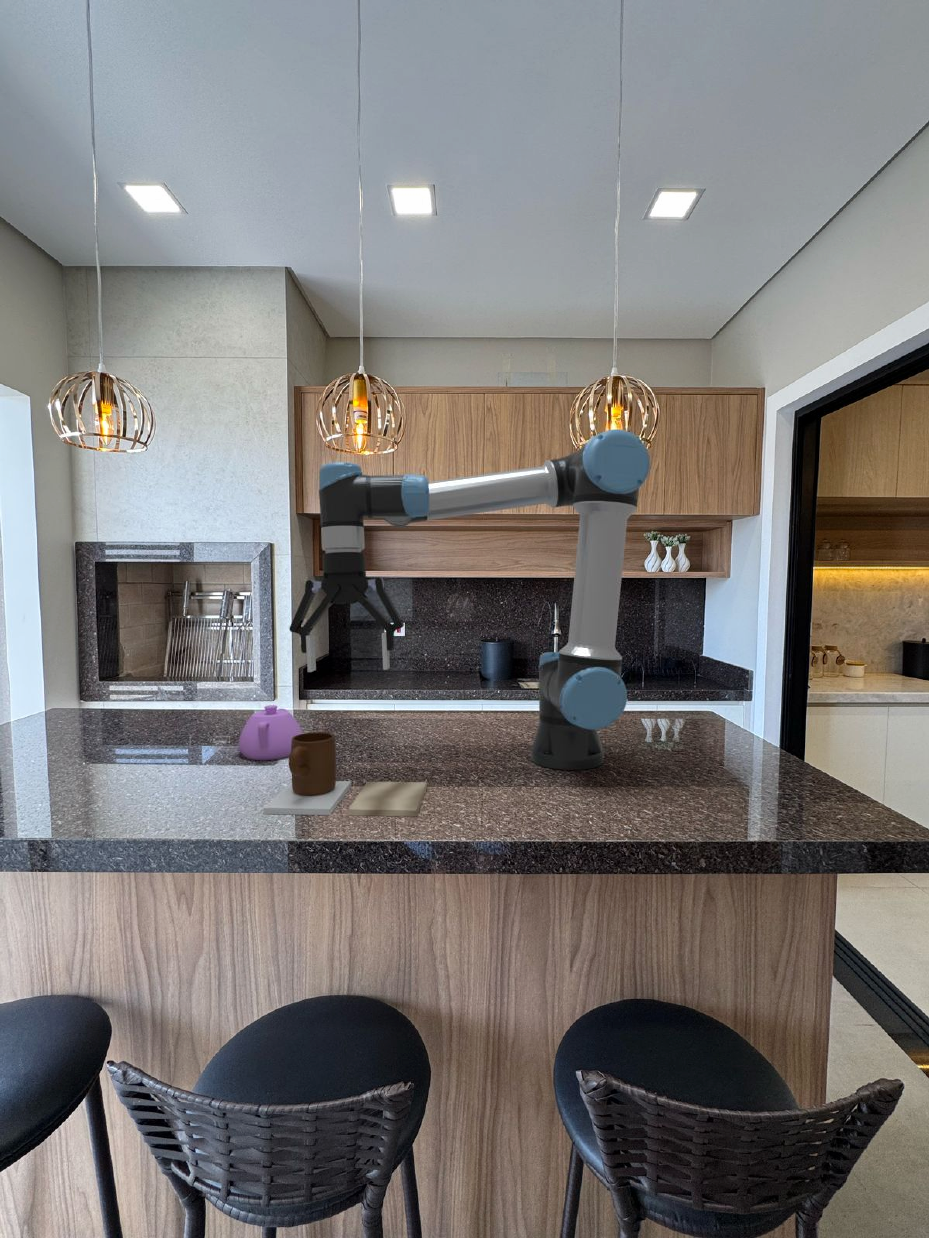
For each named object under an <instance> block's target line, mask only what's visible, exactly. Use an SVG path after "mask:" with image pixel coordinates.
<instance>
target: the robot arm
mask: <svg viewBox="0 0 929 1238" xmlns="http://www.w3.org/2000/svg"><path fill="white" fill-rule="evenodd" d="M650 470H651V456H650V453H649V450H648V448H647V446H646V445H645V444H644V443H643V441H642V440H641V439H640V437H638V436H637V435H635V434H633V432H630V431H628V430H625V429H616V428H615V429H608V430H606V431H602V432H601V433H598V434H595V435H594V436H592V437H591V438H590V439H589V440H588V441H587V443H586V444H585V445H583V446H582V447H581V448H579V449H578V450H577V451H575V452H572V453H571V454H569V455H568V454H567V455H566V456H563V457H559V458H556V459H548V460H546V461H545V462H544V464H542V466H534V467H528V468H522V469H521V468H520V469H513V470H506V471H505V470H504V471H498V472H492V473H484V474H477V475H471V476H464V477H456V478H448V479H442V480H435V481H433V480H432V481H429V479H428V477H427V476H426V475H423V474H411V473H407V474H383V475H381V474H380V475H367V474H363V472H362V467H361V466H360V465H359V464H358V463H354V462H345V461H340V462H339V461H334V462H330V463H329V462H328V463H325V464H323V465H322V466H321V467H320V469H319V475H318V476H319V477H318V478H319V479H318V480H319V483H318V484H319V485H318V486H319V487H318V488H319V489H318V495H319V496H318V497H319V513H320V528H321V529H320V530H321V531H320V533H321V534H320V535H321V550H322V551H324V552H325V553H323V555H322V556H321V557H322V576H323V577H322V581H318V580H317V581H315V580H314V579H308V580H306V581H305V584H304V585H305V586H304V587H305V589H304V594H303V597H302V599H301V601H300V603H299V605H298V607H297V610H296V613H295V615H294V616H293V619H292V622H291V624H290V626H289V628H288V629H289V632H290V633H295V634H297V635H299V636H300V650H301V652H302V654H306V663H307V664H306V665H307V673H312V672H314V671H317V663H316V662H317V661H316V643H315V642H316V641H315V640H316V639H315V634H311V632H312V630H313V629H314V628H315V627H316V625H317V624H318V623H319V621H320V620H321V619H322V618H323V617H324V615H325V614H326V612H327V611H328V610H329V608H331V606H332V605H334V604H336V605H343V604H349V605H350V604H351V605H354V604H357V603H359V604H360V605H361V606H362V607H363V608H364V609H366V611H367V612H368V613H369V614H370V616H372V618H373V619H374V620H375V621H376V622H377V623H378V624H379V625H380V626H381V627H382V629H384V632H382V633H381V647H382V649H381V651H382V670H383V671H386V670H387V671H388V670H389V669H390V667H391V666H390V664H391V663H390V651H393V650H395V632H396V631H397V630H400V629H403V627H404V626H405V623H404V621H403V619H402V617H401V615H400V614H399V612H398V611H397V608H396V606H395V604H394V603H393V601H392V600H391V598H390V596H389V594H388V592H387V590H386V586H385V585H386V584H385V579H384V578H382V577H376V578H374V579H373V578H372V579H368V577H367V571H366V570H367V569H366V554H365V553H364V552H362V551H363V550H364V549H365V526H364V519H373V518H375V519H376V518H379V519H380V518H381V519H383V520H384V521H385V522H386V523H387V524H389V525H390V526H394V527H406V526H408V525H410V524H412V523H420V522H426V521H433V520H439V519H447V518H452V517H453V518H454V517H461V516H467V515H468V516H469V515H475V514H482V513H489V512H497V511H503V510H511V509H516V508H525V507H532V506H538V505H547V506H549V507H550V508H559V507H570V506H572V507H573V508H574V510H575V511H576V513H578V515H579V524H578V525H579V526H578V535H577V547H576V557H575V568H574V576H573V577H574V578H573V579H574V580H573V589H572V600H571V609H570V610H571V611H570V619H569V630H568V631H569V632H568V640H567V641H568V642H567V644H566V645H565V646H563V647H562V648H561V649H560V650H559V651H551V652H549V651H548V652H544V653H542V654H541V655H540V656H539V663H538V666H537V667H538V673H539V674H538V677H539V679H538V681H539V683H538V685H539V687H538V690H539V692H538V693H539V694H538V697H539V700H538V701H539V702H538V703H539V710H538V712H539V717H538V718H539V719H538V720H539V721H538V722H539V723H538V727H537V730H536V732H535V735H534V739H533V741H532V745H531V747H530V748H531V749H530V760H531V762H533V763H534V764H536V765H538V766H542V767H545V768H550V769H554V770H564V771H565V770H567V771H580V770H588V769H594V768H597V767H600V766H602V765H603V763H604V753H605V752H604V749H603V746H602V741H601V739H600V736H599V733H598V730H600V729H604V728H607V727H610V726H611V725H612V724H614V723H615V722H616V721H618V719H620V717H621V716H622V714H623V713H624V711H625V708H626V707H627V701H628V692H627V688H626V685H625V682H624V680H623V679H622V678H621V674H622V662H623V656H622V654H620V653H619V651H618V650H617V649H616V647H615V646H616V639H617V638H616V637H617V627H618V619H619V617H618V616H619V606H620V599H621V597H620V596H621V588H622V587H621V586H622V579H623V578H622V577H623V567H624V558H625V556H624V555H625V548H626V547H625V546H626V536H627V535H626V534H627V525H628V524H627V523H628V520H629V518H630V517H631V516H632V515H633V514H634V513H635V512H636V511H637V510H638V501H639V493H640V492H639V491H640V488H641V487H642V485H643V484H644V483H645V481H646V479H647V477H648V476H649V473H650ZM369 587H371V588H372V590H373V591H376V593H377V595H378V597H379V599H380V601H381V602H382V604H383V606H384V608H385V610H386V612H387V614H388V615H389V617H390V619H391V621H392V623H391V622H390V620H388V619H387V617H386V616H385V615H383V612H381V610H379V609H378V608H377V607H376V605H375V604H374V603H373V602H372V601H371V600H370V598H369V597H368V596H367V595H366V594H365V593H366V592H367V590H368V589H369ZM320 589H322V591H323V592H324V593H325V595H324V598H323V599H322V600H321V602H320V604H319V605H318V606H317V608H316V609H315V610H314V612H313V613H312V614H311V616H309V618H308V620H306V619H305V618H306V616H307V613H308V611H309V610H310V607H311V606H312V603H313V600H314V597H315V595H316V593H318V592H319V591H320ZM305 620H306V622H305V623H304V621H305ZM303 623H304V625H303Z"/></svg>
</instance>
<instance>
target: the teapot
mask: <svg viewBox="0 0 929 1238" xmlns="http://www.w3.org/2000/svg"><path fill="white" fill-rule="evenodd" d="M263 707H264V710H261V711H257V712H254V713H252V715H250V717H249V718H248V719H247V721H246V723H245V725H244V726H243V729H242V730H241V733H240V736H239V739H238V750H239V752H240V753H241V754H242V755H243V756H244V757H245V758H247V759H249V760H254V761H272V760H274V761H275V760H280V759H281V760H282V759H285V758H289V756H290V753H291V744H292V738H293V737H294V736H296V735H299V734H303V731H302V729H301V726H300V724H299V723H298V721H297V720H296V718H295V716H293V714H291V712H290V711H288V710H287V709H286V708H278V705H275V704H271V705H270V704H269V705H265V706H263Z"/></svg>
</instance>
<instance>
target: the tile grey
mask: <svg viewBox="0 0 929 1238" xmlns="http://www.w3.org/2000/svg"><path fill="white" fill-rule="evenodd" d="M351 787H352V781H350V780H349V781H344V780H342V781H341V780H340V781H339V780H336V784H335V787H334V789H333V790H332V791H330V792H328V793H325V794H321V795H312V796H306V795H299V794H297V793H295V792H294V791H293V789H292V781H291V782H289V784H287V785H286V786H285V787H284V788H283V789H282V790H281V791H279V792H278V793H277V795H275V796H274V797H273V798H272V799H270V801H269V802H268V803H267V804H266V805H265V806H263V810H262V813H263V815H297V816H298V815H299V816H301V815H306V816H308V815H309V816H311V815H312V816H331V815H332V813H333V812H334V811H335V809H336V808H337V806H338V805H339V804H340V802H342V800H343V798H344V797H345V796H346V794H347V793H348V792H349V790H350V789H351Z"/></svg>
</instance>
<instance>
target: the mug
mask: <svg viewBox="0 0 929 1238" xmlns="http://www.w3.org/2000/svg"><path fill="white" fill-rule="evenodd" d="M335 738H336V737H335V735H334V734H333V733H331V732H321V731H319V732H305V733H302V734H299V735H296V736H294V737H293V738H292V744H291V753H290V756H289V757H288V768H289V771H290V773H291V782H292V789H293V791H294V792H295V793H297V794H299V795H306V796H312V795H321V794H325V793H328V792H330V791H332V790H333V789H334V787H335V784H336V781H337V779H336V777H337V772H336V769H337V766H336V765H337V762H336V761H337V760H336V758H337V757H336V754H337V753H336V739H335Z"/></svg>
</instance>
